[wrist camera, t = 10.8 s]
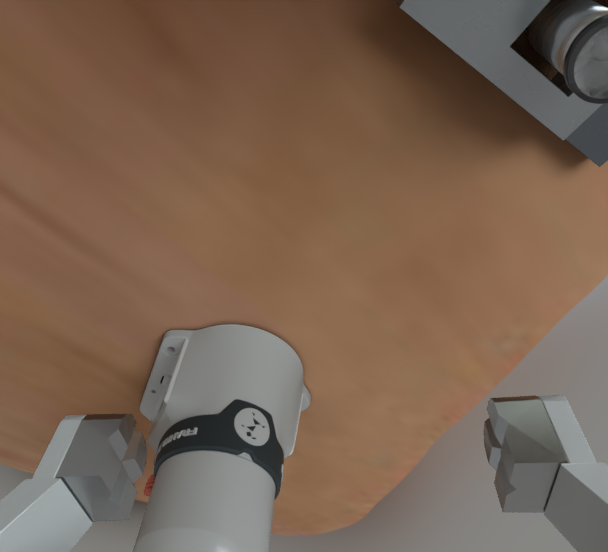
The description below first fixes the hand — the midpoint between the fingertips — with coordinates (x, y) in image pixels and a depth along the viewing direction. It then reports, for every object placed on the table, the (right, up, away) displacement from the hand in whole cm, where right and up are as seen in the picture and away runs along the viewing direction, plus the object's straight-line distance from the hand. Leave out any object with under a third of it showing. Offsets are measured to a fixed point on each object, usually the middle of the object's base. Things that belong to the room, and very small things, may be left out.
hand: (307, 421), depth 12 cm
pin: (+17, +20, +23) cm, 35 cm away
